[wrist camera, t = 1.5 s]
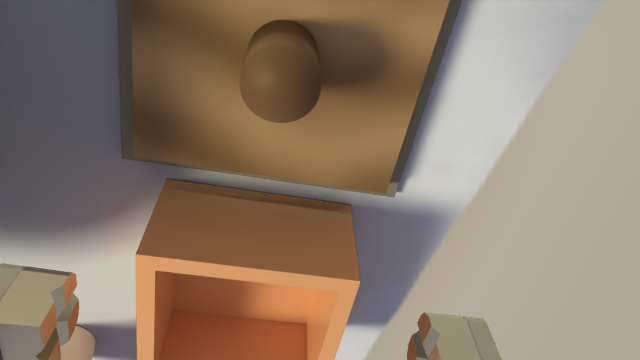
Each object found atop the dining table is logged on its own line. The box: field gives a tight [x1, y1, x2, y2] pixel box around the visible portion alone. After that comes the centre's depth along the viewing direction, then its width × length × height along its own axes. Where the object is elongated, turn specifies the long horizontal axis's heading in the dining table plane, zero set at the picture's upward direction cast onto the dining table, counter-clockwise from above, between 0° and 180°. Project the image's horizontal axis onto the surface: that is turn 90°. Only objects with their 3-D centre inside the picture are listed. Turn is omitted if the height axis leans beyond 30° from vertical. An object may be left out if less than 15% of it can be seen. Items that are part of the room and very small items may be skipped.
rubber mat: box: [118, 0, 462, 197], centre depth 27 cm, size 17×17×1 cm
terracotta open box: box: [136, 179, 361, 360], centre depth 33 cm, size 12×12×7 cm
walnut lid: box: [131, 0, 450, 194], centre depth 24 cm, size 15×15×5 cm
